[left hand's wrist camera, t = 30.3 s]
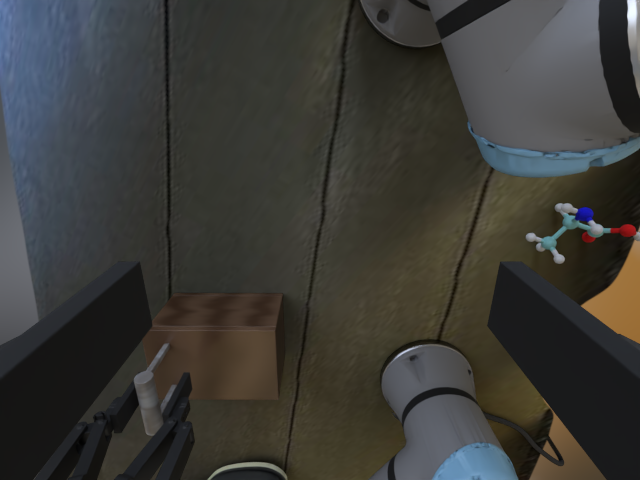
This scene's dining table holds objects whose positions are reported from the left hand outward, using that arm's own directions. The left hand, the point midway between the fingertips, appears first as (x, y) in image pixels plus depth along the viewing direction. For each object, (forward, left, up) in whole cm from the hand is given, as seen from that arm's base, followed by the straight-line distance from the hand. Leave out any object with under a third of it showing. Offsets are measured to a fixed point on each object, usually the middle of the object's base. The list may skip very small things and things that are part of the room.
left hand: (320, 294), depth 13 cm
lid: (+15, +26, -27) cm, 40 cm away
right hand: (+20, +25, -24) cm, 40 cm away
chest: (+15, +26, -36) cm, 47 cm away
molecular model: (-34, +9, -36) cm, 51 cm away
